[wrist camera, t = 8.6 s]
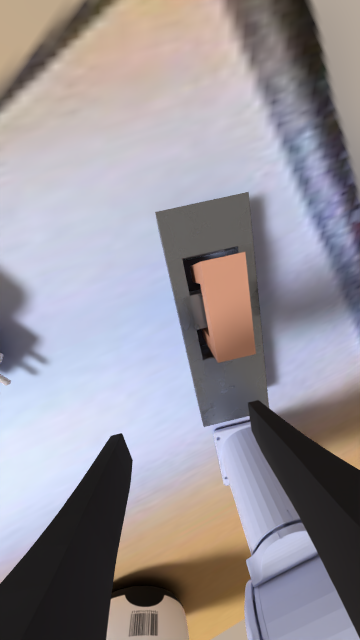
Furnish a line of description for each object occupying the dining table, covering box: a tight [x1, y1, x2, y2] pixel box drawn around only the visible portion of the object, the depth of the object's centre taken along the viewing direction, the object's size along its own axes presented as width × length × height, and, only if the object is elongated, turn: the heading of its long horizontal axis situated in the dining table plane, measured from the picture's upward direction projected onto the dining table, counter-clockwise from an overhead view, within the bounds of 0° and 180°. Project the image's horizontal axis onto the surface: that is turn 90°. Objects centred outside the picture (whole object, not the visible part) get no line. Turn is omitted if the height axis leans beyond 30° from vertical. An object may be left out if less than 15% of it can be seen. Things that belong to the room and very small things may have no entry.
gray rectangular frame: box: [155, 192, 269, 427], centre depth 16 cm, size 20×7×3 cm, turn 12°
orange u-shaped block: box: [190, 252, 256, 363], centre depth 15 cm, size 8×3×6 cm, turn 12°
